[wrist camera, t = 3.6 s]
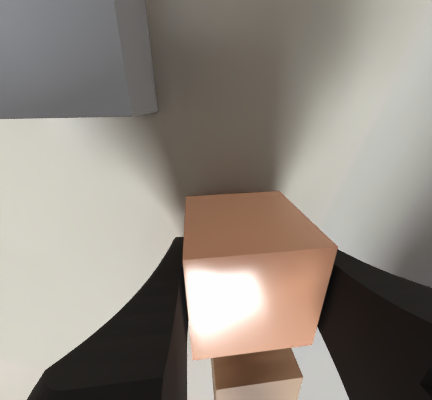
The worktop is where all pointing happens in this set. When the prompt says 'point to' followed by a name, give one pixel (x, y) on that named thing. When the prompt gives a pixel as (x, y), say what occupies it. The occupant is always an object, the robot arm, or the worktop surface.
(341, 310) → the robot arm
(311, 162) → the worktop surface
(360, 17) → the worktop surface
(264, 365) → the walnut cube
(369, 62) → the worktop surface
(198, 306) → the terracotta cube
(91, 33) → the slate cube
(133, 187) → the worktop surface
